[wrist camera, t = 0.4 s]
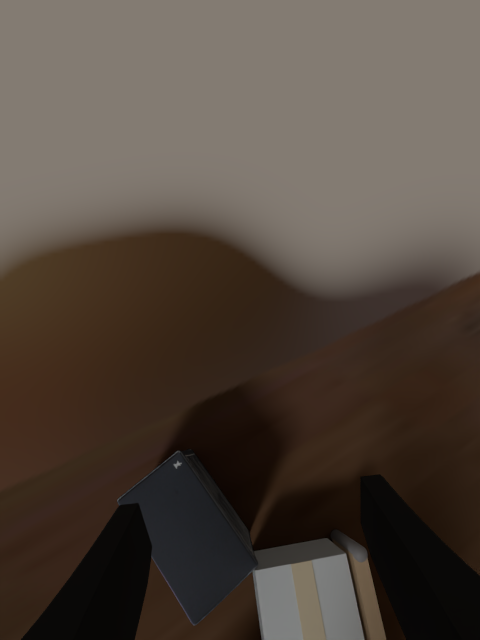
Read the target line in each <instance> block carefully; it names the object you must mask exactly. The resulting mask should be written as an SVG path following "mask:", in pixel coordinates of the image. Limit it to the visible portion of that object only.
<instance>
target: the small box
mask: <svg viewBox="0 0 480 640" xmlns="http://www.w3.org/2000/svg"><path fill="white" fill-rule="evenodd" d="M117 502H118V504H119V506H120V505H124V504H132V503H139V506H140V509H141V512H142V515H143V519H144V522H145V525H146V528H147V531H148V534H149V538H150V541H151V544H152V554H151V557H152V559H153V560H154V562H155V564H156V565H157V567H158V568H159V570H160V572H161V573H162V575H163V577H164V578H165V580H166V581H167V583H168V585H169V586H170V588H171V590H172V591H173V593H174V595H175V596H176V598H177V600H178V601H179V603H180V605H181V606H182V608H183V610H184V611H185V613H186V614H187V616H188V618H189V619H190V621H191V623H192V624H193V625H196V624H198V623H199V622H200V621H201V620H202V619H203V618H204V617H205V616H207V615H208V614H209V613H210V612H211V611H212V610H213V609H214V608H215V607H216V606H217V605H218V604H219V603H220V602H221V601H222V600H223V599H224V598H225V597H226V596H227V595H228V594H229V593H230V592H231V591H232V590H234V589H235V588H236V587H237V586H238V585H239V584H240V583H241V582H242V581H243V580H244V579H245V578H246V577H247V576H248V575H249V574H250V573H251V572H252V571H253V570H254V569H255V568H256V567H257V566H258V561H257V559H256V557H255V554H254V551H253V546H252V542H251V538H250V532H249V530H248V529H247V528H246V526H245V524H244V523H243V521H242V520H241V519H240V517H239V516H238V514H237V513H236V511H235V510H234V509H233V507H232V506H231V504H230V503H229V501H228V500H227V499H226V497H225V495H224V494H223V493H222V491H221V490H220V489H219V487H218V486H217V484H216V482H215V481H214V479H213V478H212V476H211V475H210V474H209V473H208V471H207V469H206V468H205V467H204V465H203V464H202V463H201V461H200V460H199V459H198V457H197V456H196V455H195V453H194V451H193V450H191V449H188V450H185V451H176V452H175V453H174V454H173V455H172V456H170V457H169V458H168V459H167V460H165V461H164V462H163V463H162V464H160V465H159V466H158V467H157V468H155V469H154V470H153V471H152V472H151V473H149V474H148V475H147V476H146V477H144V478H143V479H142V480H140V481H139V482H138V483H137V484H136V485H134V486H133V487H132V488H130V489H129V490H128V491H127V492H126V493H124V494H123V495H122V496H121V497H119V498H118V500H117Z"/></svg>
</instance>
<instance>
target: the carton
mask: <svg viewBox="0 0 480 640" xmlns="http://www.w3.org/2000/svg"><path fill="white" fill-rule="evenodd" d="M254 554H255V557H256V559H257V561H258V566H257V567H256V568H255V569H254V570H253V579H254V586H255V594H256V601H257V609H258V617H259V624H260V632H261V639H262V640H365V639H364V635H363V630H362V625H361V621H360V616H359V612H358V607H357V602H356V598H355V593H354V588H353V584H352V579H351V574H350V570H349V565H348V560H347V556H346V553H345V552H344V551H342V550H341V549H340V548H339V547H337V546H336V545H335V544H334V543H333V542H331V541H330V540H329V539H328V538H323V539H318V540H312V541H307V542H301V543H296V544H290V545H285V546H280V547H274V548H269V549H263V550H258V551H254Z"/></svg>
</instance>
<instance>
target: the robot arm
mask: <svg viewBox="0 0 480 640" xmlns="http://www.w3.org/2000/svg"><path fill="white" fill-rule="evenodd" d="M361 525H362V528H363V532H364V535H365V538H366V541H367V545H368V548H369V551H370V554H371V557H372V560H373V562H374V564H375V567H376V569H377V572H378V574H379V576H380V579H381V581H382V583H383V586H384V588H385V590H386V593H387V595H388V598H389V600H390V602H391V605H392V607H393V609H394V612H395V614H396V616H397V619H398V621H399V623H400V626H401V628H402V630H403V633H404V635H405V637H406V640H480V576H479V575H478V574H477V573H476V572H475V571H474V570H473V569H472V568H471V567H469V566H468V565H467V564H466V563H465V562H464V561H463V560H462V559H461V558H460V557H459V556H458V555H457V554H455V553H454V552H453V551H452V550H451V549H450V548H449V547H448V546H447V545H446V544H445V543H444V542H443V541H442V540H441V539H440V538H439V537H438V536H437V535H436V534H435V533H434V532H433V531H432V530H431V529H430V528H429V527H428V526H427V525H426V524H425V523H424V522H423V521H422V520H421V519H420V518H419V517H418V516H417V515H416V514H415V512H414V511H413V510H412V509H411V508H410V507H409V506H408V505H407V504H406V503H405V502H404V500H403V499H402V498H401V497H400V496H399V495H398V494H397V493H396V492H395V490H394V489H393V488H392V487H391V486H390V485H389V483H388V482H387V481H386V480H385V479H384V478H383V477H382V476H381V475H371V476H363V477H361ZM151 554H152V544H151V541H150V538H149V534H148V531H147V528H146V525H145V522H144V519H143V515H142V512H141V509H140V506H139V503H132V504H124V505H120V506H119V507H118V508H117V510H116V511H115V513H114V514H113V516H112V517H111V519H110V520H109V522H108V523H107V525H106V526H105V528H104V529H103V531H102V532H101V534H100V535H99V537H98V538H97V540H96V541H95V542H94V544H93V545H92V547H91V548H90V550H89V551H88V553H87V554H86V555H85V557H84V558H83V560H82V561H81V563H80V564H79V565H78V567H77V568H76V570H75V571H74V572H73V574H72V575H71V577H70V578H69V579H68V581H67V582H66V583H65V585H64V586H63V587H62V589H61V590H60V591H59V593H58V594H57V595H56V596H55V598H54V599H53V600H52V602H51V603H50V604H49V606H48V607H47V608H46V610H45V611H44V612H43V613H42V615H41V616H40V617H39V618H38V620H37V621H36V622H35V623H34V625H33V626H32V627H31V628H30V629H29V631H28V632H27V633H26V634H25V635H24V637H23V638H22V639H21V640H135V635H136V631H137V627H138V623H139V619H140V614H141V610H142V606H143V601H144V597H145V593H146V588H147V584H148V577H149V570H150V562H151Z"/></svg>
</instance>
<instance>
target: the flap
mask: <svg viewBox="0 0 480 640" xmlns="http://www.w3.org/2000/svg"><path fill="white" fill-rule="evenodd" d="M331 539H332V541H333V543H334V544H335V545H336V546H337V547H339V548H340V549H341V550H342V551H344V552H345V553H346V556H347V560H348V565H349V570H350V574H351V579H352V584H353V588H354V593H355V598H356V602H357V607H358V612H359V616H360V621H361V625H362V630H363V635H364V639H365V640H386V636H385V632H384V627H383V623H382V619H381V615H380V610H379V606H378V602H377V597H376V593H375V589H374V584H373V580H372V576H371V571H370V567H369V563H368V558H367V556H368V554H367V550H366V549H365V548H364V547H363V546H361V545H360V544H358V543H357V542H355V541H354V540H352V539H351V538H349V537H348V536H346V535H345V534H344V533H342V532H341V531H339V530H337V529H335V530H333V531H332V532H331Z"/></svg>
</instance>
